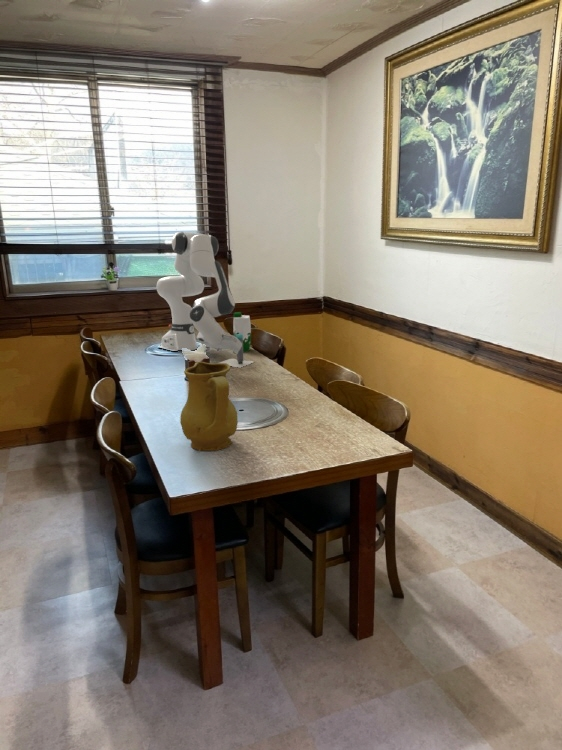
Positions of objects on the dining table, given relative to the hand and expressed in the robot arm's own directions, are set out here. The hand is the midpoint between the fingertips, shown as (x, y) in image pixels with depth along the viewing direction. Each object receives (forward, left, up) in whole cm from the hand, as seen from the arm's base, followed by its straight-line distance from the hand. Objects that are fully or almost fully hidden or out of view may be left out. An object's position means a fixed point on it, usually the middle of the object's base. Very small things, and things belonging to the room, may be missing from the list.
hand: (228, 351), depth 243 cm
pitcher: (+47, -74, -8) cm, 88 cm away
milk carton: (-16, +35, -8) cm, 39 cm away
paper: (-3, +10, -8) cm, 13 cm away
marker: (0, +10, -8) cm, 13 cm away
